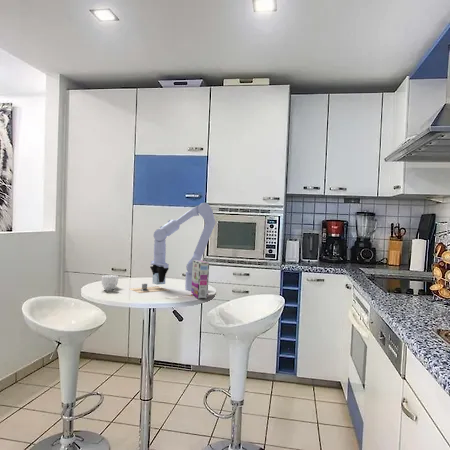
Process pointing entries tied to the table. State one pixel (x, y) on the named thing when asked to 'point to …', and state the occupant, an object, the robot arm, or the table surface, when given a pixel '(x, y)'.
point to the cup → (109, 282)
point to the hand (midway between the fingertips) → (158, 281)
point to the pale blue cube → (157, 279)
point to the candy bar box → (200, 279)
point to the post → (144, 287)
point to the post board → (149, 289)
